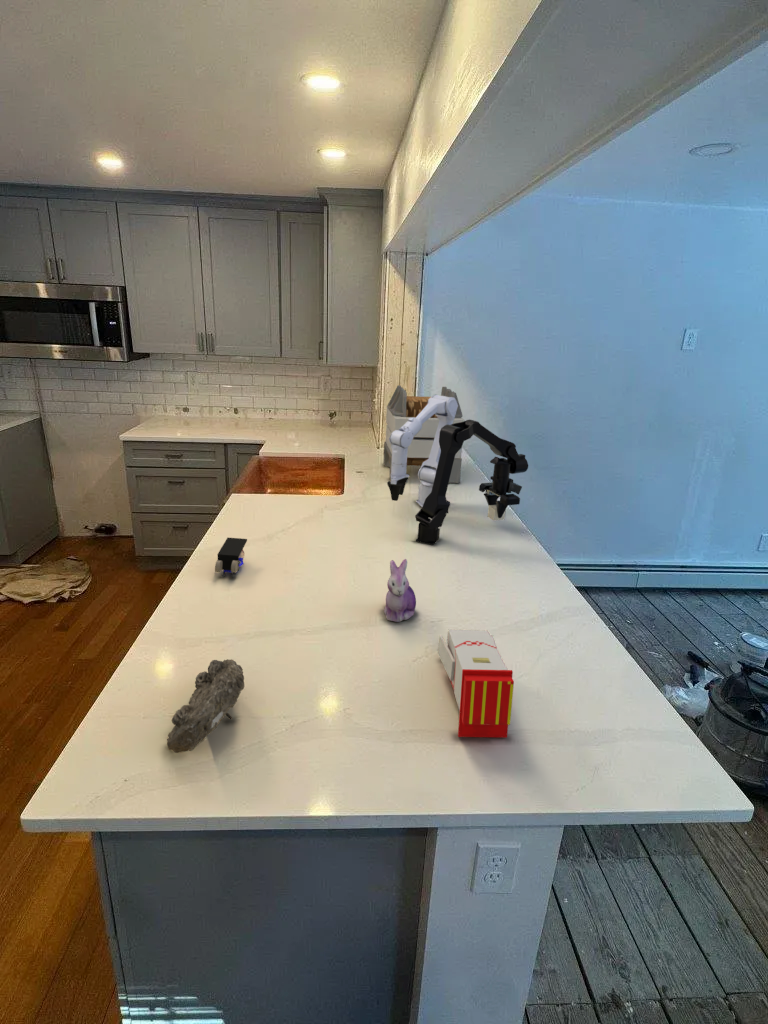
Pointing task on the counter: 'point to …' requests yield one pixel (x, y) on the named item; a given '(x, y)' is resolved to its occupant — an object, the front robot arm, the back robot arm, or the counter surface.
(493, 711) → the toy
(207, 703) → the fossil
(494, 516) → the light grey cube-like block
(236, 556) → the figurine character
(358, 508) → the counter surface
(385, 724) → the counter surface
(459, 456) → the grey wooden planter box
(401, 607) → the figurine
